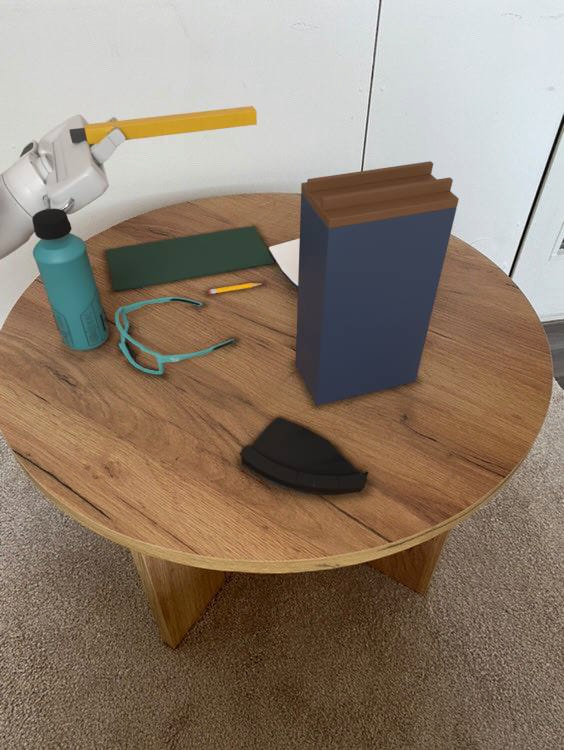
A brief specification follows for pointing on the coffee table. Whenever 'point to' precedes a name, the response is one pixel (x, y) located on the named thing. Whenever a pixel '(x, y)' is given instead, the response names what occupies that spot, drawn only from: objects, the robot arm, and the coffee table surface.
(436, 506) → the coffee table surface
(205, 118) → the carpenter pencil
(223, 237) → the rubber mat
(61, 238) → the beverage bottle
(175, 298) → the sunglasses
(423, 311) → the blue tall block
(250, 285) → the pencil
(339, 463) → the curved wedge
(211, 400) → the coffee table surface
